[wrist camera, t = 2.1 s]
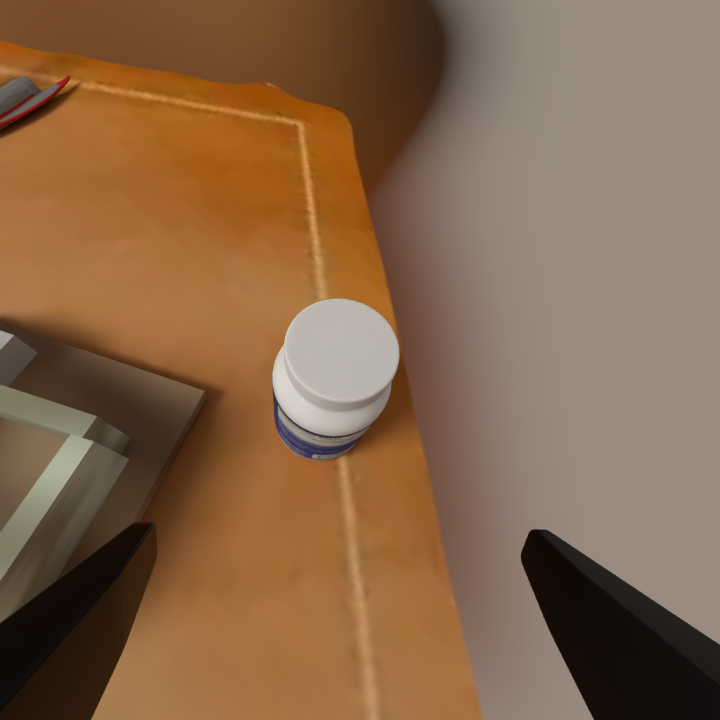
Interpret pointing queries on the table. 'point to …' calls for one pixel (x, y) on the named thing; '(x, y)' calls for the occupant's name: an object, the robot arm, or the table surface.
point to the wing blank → (13, 357)
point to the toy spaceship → (24, 98)
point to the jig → (79, 458)
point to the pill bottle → (332, 377)
